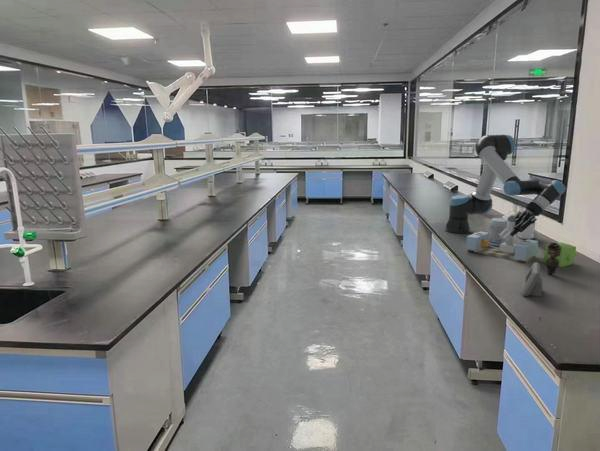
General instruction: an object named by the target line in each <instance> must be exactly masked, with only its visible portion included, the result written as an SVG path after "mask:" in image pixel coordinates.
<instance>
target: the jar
mask: <svg viewBox="0 0 600 451" xmlns="http://www.w3.org/2000/svg"><path fill="white" fill-rule="evenodd" d="M535 227H536V221H534V222H533V223H532V224H531V225H529V226H528V227H527V228H526V229H525V230H524V231H522V232H517V233H516V237H517V238H519V239H525V240H528V239H530V240H533V239H534V236H535ZM521 230H522V229H521Z"/></svg>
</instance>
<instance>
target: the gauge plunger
mask: <svg viewBox="0 0 600 451" xmlns="http://www.w3.org/2000/svg"><path fill="white" fill-rule="evenodd" d="M481 246H485V247H487V246H490V244H489V240H484V239H482V240H481Z"/></svg>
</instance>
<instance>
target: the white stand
mask: <svg viewBox="0 0 600 451" xmlns="http://www.w3.org/2000/svg"><path fill="white" fill-rule="evenodd" d="M506 219H507V220H508V223H507V233H506V235H507V234H508V233H509V232H510V231H511V230H512V229H514V227H516V226H515V222H516V217H515V215H509V216H508V217H507V218H506ZM514 230H515V229H514ZM514 241H515V235H514V236H513V237H511V238H510V239H509V240H508V241H506V242H504V243H501V244H500V246H499V247H498V248H499V251H504V252H509V253H515V247H516V245H517V244H518V243H517V244H516V243H514Z"/></svg>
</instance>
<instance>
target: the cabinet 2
mask: <svg viewBox="0 0 600 451" xmlns="http://www.w3.org/2000/svg"><path fill="white" fill-rule="evenodd" d="M538 248H539V240H534V239H525V240H522V242H519V243H517V245H516V247H515V256H514V259H518V260H523V261H525V260H527V259H529V258H531V257H533V256H534V255H535V256H536V255H537V254H538Z"/></svg>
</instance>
